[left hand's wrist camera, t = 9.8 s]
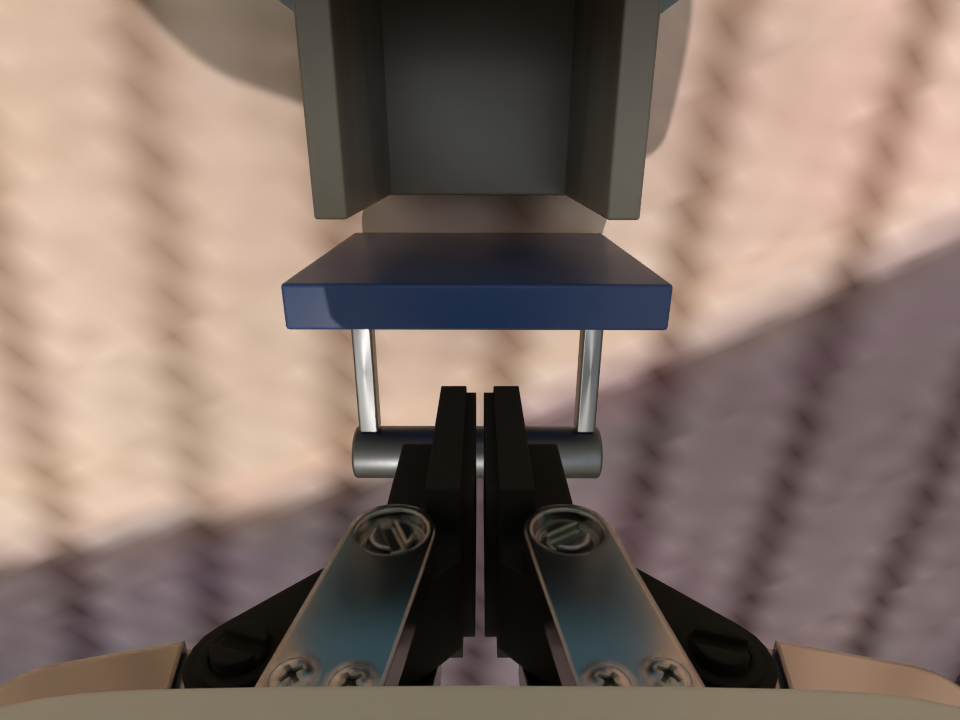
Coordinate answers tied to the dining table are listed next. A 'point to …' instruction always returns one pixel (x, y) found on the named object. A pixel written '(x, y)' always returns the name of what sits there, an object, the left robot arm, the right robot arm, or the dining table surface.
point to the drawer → (477, 183)
